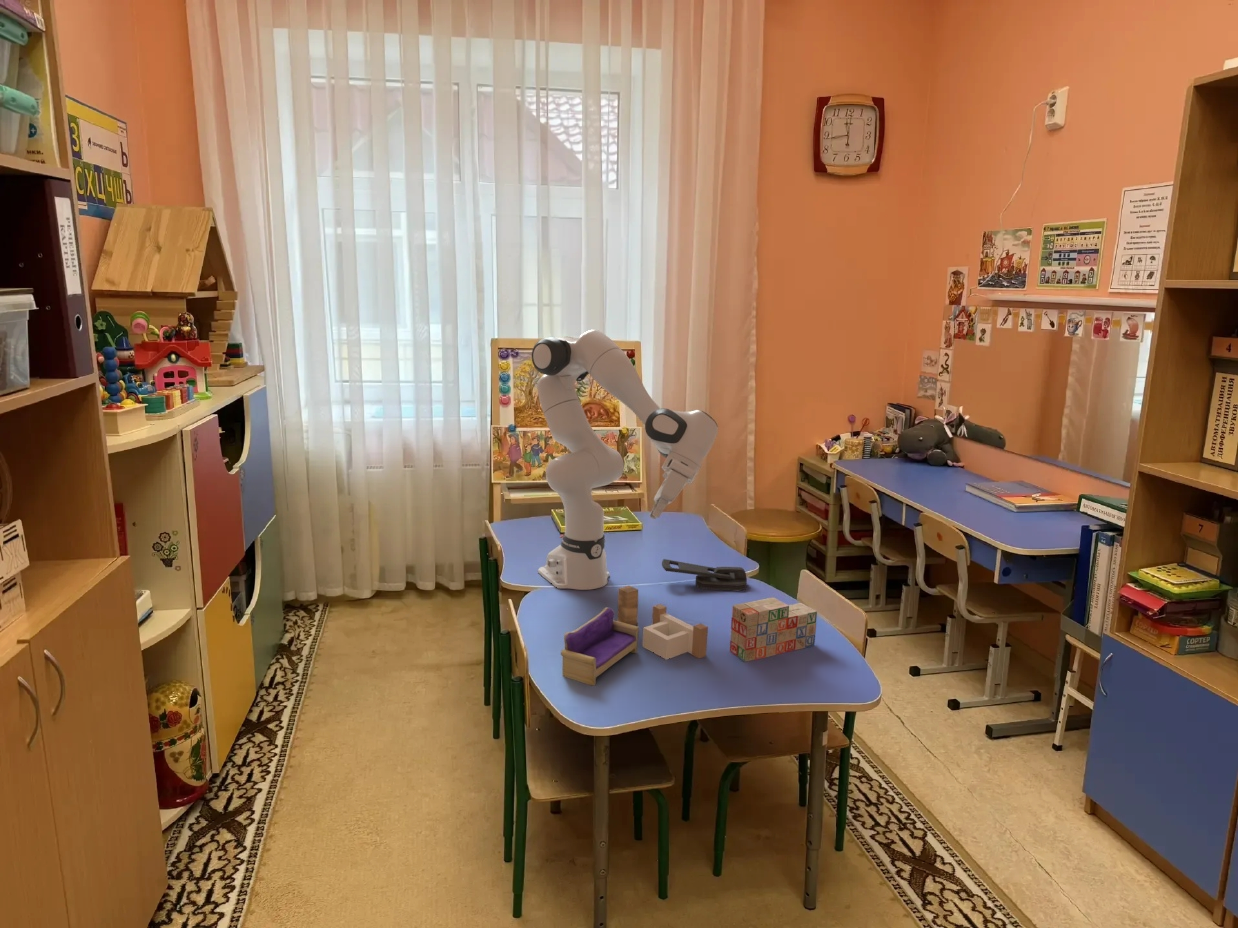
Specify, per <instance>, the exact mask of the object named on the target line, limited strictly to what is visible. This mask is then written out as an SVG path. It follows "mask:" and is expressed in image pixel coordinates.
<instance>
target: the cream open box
mask: <svg viewBox="0 0 1238 928" xmlns="http://www.w3.org/2000/svg"><path fill="white" fill-rule="evenodd" d="M708 628H709V627H708V625H705V624H703V623H702V622H701V623H697V624H695V625H692V624H689V623H688V622H685V621H683V620H681V619H679V618H677V617H675V616H673V615H672V614H671V615H670V614H669V613H667V606H665V605H663V604H661V603H659V604H656V605H652V621H651V625H647V626H645V627H643V630H642V631H643V632H642V648H644V649H646V650H648V651H650V652H652V653H653V652H654V654H655V655H657V656H659V657H660V656H661V658H663V659H664V660H666V659H667V660H669V658H670V659H672V658H674V657H675V658H676V657H678V656H681V655H683V654H686V653H689V654H691V656H693V657H695V658H697V659H701V658H702V659H703V658H705V657H706V656H707V649H708V648H707V647H708V631H709V629H708Z"/></svg>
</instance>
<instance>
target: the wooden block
mask: <svg viewBox="0 0 1238 928" xmlns="http://www.w3.org/2000/svg"><path fill="white" fill-rule="evenodd" d="M638 605H639V589H637V588H636V587H633V586H631V585H625V586H623V587H619V588H618V601H617V621H619V622H622V623H626V624H630V625H634V626H637V627H639V623H638V610H639V609H638V608H639V607H638Z"/></svg>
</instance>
